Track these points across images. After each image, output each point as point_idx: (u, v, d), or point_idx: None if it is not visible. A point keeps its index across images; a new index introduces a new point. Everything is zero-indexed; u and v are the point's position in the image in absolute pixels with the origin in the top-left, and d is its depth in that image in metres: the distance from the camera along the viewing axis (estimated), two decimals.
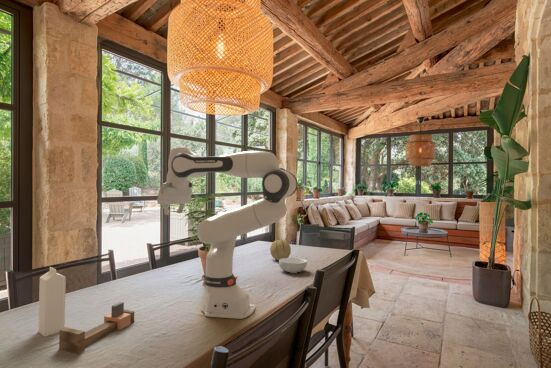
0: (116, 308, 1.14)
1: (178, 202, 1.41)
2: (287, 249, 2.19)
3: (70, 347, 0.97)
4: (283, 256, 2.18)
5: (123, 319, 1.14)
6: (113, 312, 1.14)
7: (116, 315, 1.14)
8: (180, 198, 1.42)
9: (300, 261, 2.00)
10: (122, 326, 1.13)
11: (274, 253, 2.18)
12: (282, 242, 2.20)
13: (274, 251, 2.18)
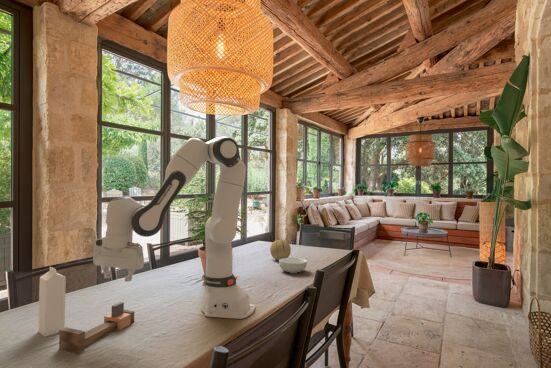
0: (116, 308, 1.14)
1: None
2: (287, 249, 2.19)
3: (70, 347, 0.97)
4: (283, 256, 2.18)
5: (123, 319, 1.14)
6: (113, 312, 1.14)
7: (116, 315, 1.14)
8: None
9: (300, 261, 2.00)
10: (122, 326, 1.13)
11: (274, 253, 2.18)
12: (282, 242, 2.20)
13: (274, 251, 2.18)
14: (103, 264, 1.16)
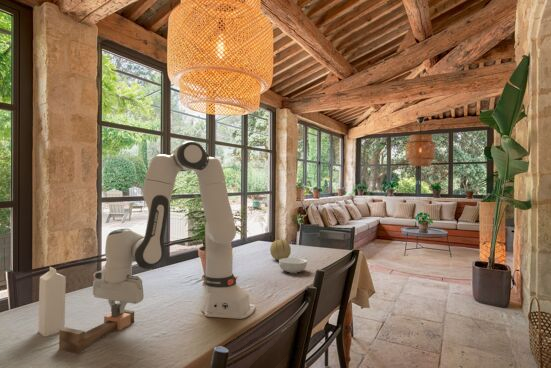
0: (116, 308, 1.14)
1: None
2: (287, 249, 2.19)
3: (70, 347, 0.97)
4: (283, 256, 2.18)
5: (123, 319, 1.14)
6: (113, 312, 1.14)
7: (116, 315, 1.14)
8: None
9: (300, 261, 2.00)
10: (122, 326, 1.13)
11: (274, 253, 2.18)
12: (282, 242, 2.20)
13: (274, 251, 2.18)
14: (103, 297, 1.16)
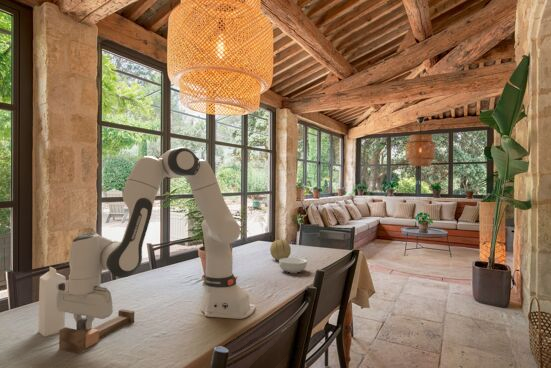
0: (82, 324, 1.01)
1: None
2: (287, 249, 2.19)
3: (70, 347, 0.97)
4: (283, 256, 2.18)
5: (89, 336, 1.00)
6: (78, 328, 1.01)
7: None
8: None
9: (300, 261, 2.00)
10: (88, 344, 1.00)
11: (274, 253, 2.18)
12: (282, 242, 2.20)
13: (274, 251, 2.18)
14: (67, 310, 1.02)
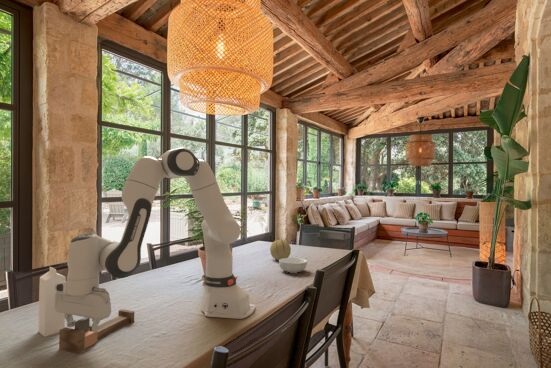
0: (80, 324, 1.00)
1: None
2: (287, 249, 2.19)
3: (70, 347, 0.97)
4: (283, 256, 2.18)
5: (88, 337, 1.00)
6: (76, 329, 1.00)
7: None
8: None
9: (300, 261, 2.00)
10: (86, 345, 0.99)
11: (274, 253, 2.18)
12: (282, 242, 2.20)
13: (274, 251, 2.18)
14: (65, 311, 1.02)
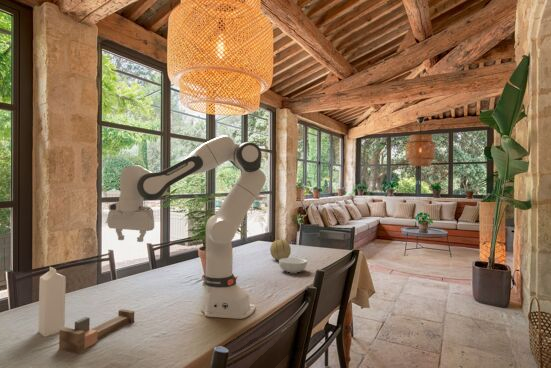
0: (80, 324, 1.00)
1: None
2: (287, 249, 2.19)
3: (70, 347, 0.97)
4: (283, 256, 2.18)
5: (88, 337, 1.00)
6: (76, 329, 1.00)
7: None
8: None
9: (300, 261, 2.00)
10: (86, 345, 0.99)
11: (274, 253, 2.18)
12: (282, 242, 2.20)
13: (274, 251, 2.18)
14: (117, 227, 1.26)
